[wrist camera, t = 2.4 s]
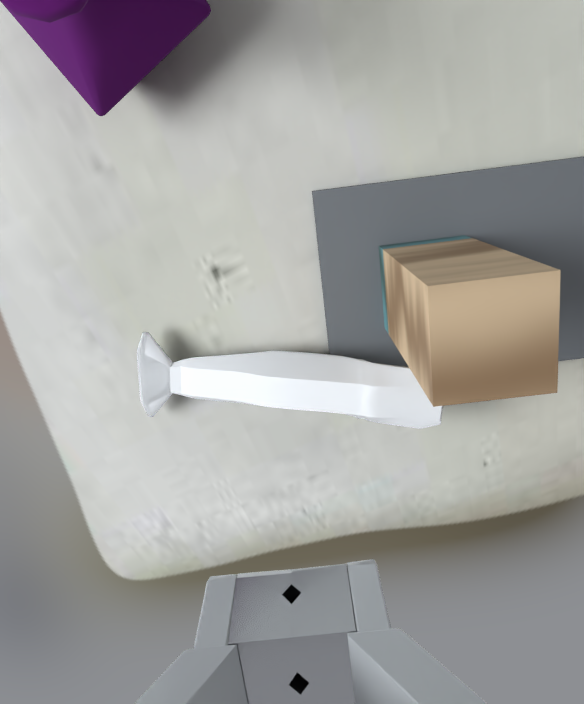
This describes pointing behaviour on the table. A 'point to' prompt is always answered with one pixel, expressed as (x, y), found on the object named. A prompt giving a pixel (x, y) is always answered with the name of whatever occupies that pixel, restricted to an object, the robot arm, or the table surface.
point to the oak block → (472, 318)
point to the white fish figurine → (288, 384)
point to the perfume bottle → (107, 39)
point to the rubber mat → (448, 221)
